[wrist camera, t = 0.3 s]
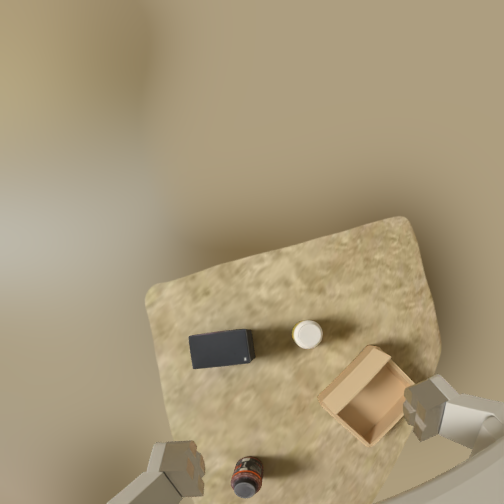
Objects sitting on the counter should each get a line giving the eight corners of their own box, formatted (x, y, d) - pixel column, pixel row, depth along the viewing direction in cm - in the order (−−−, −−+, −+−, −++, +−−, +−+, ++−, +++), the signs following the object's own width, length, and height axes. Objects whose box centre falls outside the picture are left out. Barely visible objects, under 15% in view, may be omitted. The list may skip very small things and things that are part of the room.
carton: (411, 388, 56) (423, 392, 50) (362, 440, 54) (369, 449, 49) (368, 343, 60) (377, 345, 54) (315, 397, 58) (319, 404, 52)
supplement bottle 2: (286, 340, 61) (289, 342, 52) (298, 316, 62) (302, 314, 53) (310, 350, 60) (317, 354, 51) (321, 326, 61) (330, 326, 52)
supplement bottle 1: (238, 453, 56) (232, 474, 45) (266, 458, 55) (264, 481, 44) (233, 474, 54) (225, 498, 43) (260, 480, 54) (257, 504, 43)
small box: (251, 327, 62) (246, 327, 52) (255, 358, 61) (252, 364, 51) (200, 334, 63) (187, 334, 53) (205, 364, 61) (192, 370, 51)
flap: (391, 357, 47) (390, 356, 47) (335, 415, 46) (334, 414, 46) (374, 348, 53) (374, 347, 53) (323, 401, 52) (322, 400, 52)
